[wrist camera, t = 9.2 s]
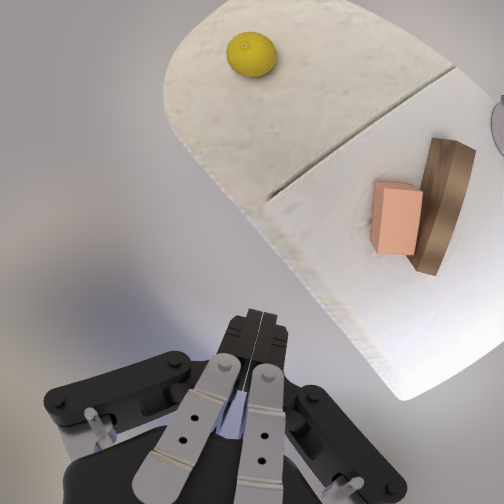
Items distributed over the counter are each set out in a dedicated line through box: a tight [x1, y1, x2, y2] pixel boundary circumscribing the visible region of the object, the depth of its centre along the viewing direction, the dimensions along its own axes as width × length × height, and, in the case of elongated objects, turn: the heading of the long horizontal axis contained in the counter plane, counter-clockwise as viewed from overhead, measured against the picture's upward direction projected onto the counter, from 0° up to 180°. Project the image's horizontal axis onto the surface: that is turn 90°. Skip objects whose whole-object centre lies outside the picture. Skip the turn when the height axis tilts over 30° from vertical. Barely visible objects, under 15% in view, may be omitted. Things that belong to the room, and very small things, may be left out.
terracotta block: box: [370, 181, 423, 255], centre depth 32 cm, size 8×5×5 cm, turn 3°
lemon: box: [226, 32, 277, 77], centre depth 26 cm, size 6×6×8 cm
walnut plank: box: [406, 138, 476, 276], centre depth 29 cm, size 16×3×7 cm, turn 171°
